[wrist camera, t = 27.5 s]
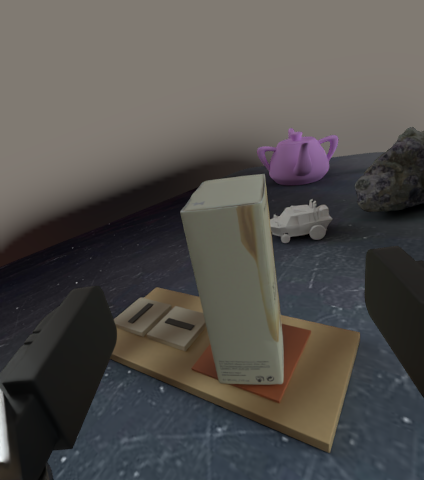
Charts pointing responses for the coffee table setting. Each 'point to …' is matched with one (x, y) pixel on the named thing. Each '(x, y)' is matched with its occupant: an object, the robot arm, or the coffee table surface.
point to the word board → (242, 395)
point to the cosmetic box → (237, 278)
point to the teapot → (298, 159)
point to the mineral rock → (395, 176)
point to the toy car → (301, 222)
